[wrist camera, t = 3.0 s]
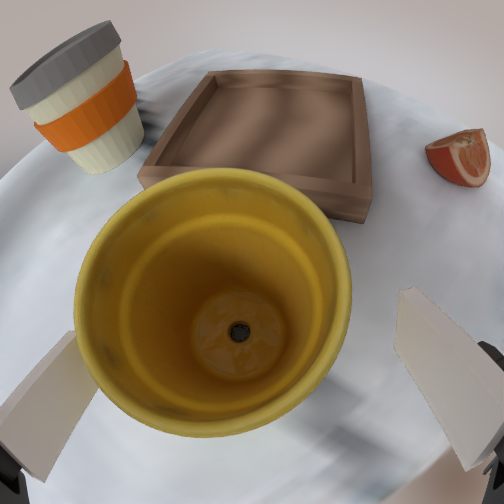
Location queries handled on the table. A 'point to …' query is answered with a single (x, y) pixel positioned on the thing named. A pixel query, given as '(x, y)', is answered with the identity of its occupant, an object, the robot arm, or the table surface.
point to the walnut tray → (275, 135)
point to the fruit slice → (461, 157)
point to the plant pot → (212, 302)
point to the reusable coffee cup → (84, 99)
